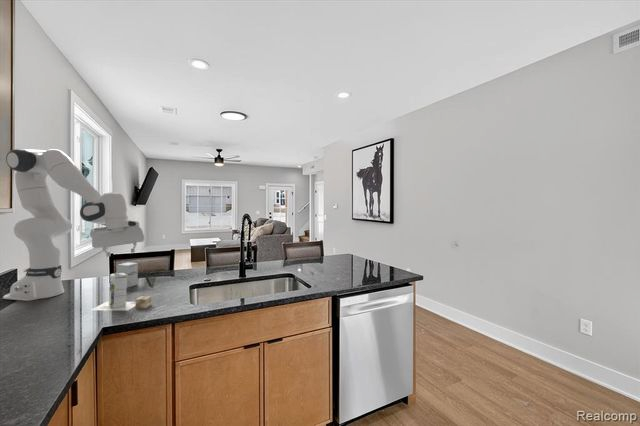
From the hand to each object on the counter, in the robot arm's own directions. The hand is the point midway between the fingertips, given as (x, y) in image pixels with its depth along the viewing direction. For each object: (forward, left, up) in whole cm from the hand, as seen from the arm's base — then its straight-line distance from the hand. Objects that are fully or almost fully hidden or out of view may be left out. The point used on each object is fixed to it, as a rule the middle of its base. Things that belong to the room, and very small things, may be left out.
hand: (121, 254), depth 134 cm
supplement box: (-13, +28, -23) cm, 39 cm away
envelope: (+1, -4, -23) cm, 24 cm away
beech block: (+13, -5, -23) cm, 27 cm away
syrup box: (+1, -4, -23) cm, 23 cm away
